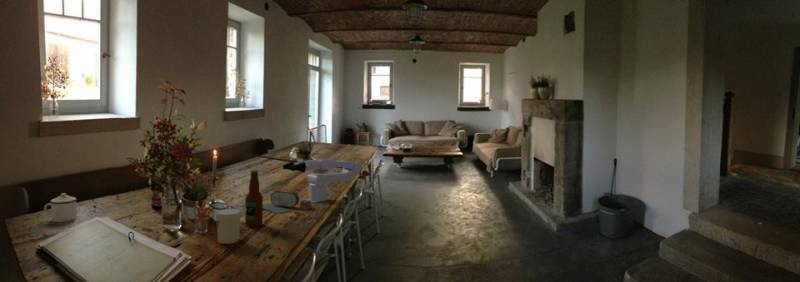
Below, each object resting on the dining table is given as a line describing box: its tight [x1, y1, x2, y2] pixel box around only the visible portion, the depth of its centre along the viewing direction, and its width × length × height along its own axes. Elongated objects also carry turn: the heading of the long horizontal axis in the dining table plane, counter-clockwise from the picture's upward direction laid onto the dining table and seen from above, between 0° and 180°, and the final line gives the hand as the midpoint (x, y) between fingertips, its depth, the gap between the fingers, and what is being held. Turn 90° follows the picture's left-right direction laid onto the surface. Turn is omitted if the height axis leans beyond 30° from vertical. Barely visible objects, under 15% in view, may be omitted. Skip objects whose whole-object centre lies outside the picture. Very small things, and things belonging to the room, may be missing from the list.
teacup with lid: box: [43, 192, 78, 223], centre depth 186 cm, size 12×9×12 cm
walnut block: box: [299, 199, 312, 211], centre depth 223 cm, size 4×4×4 cm
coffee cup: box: [215, 208, 242, 245], centre depth 170 cm, size 9×9×12 cm
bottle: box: [244, 169, 264, 228], centre depth 190 cm, size 7×7×25 cm
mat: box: [263, 203, 292, 215], centre depth 219 cm, size 8×18×1 cm, turn 50°
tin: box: [270, 189, 300, 208], centre depth 223 cm, size 15×3×8 cm, turn 84°
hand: (287, 167), depth 222 cm, fingers open, 7 cm apart
